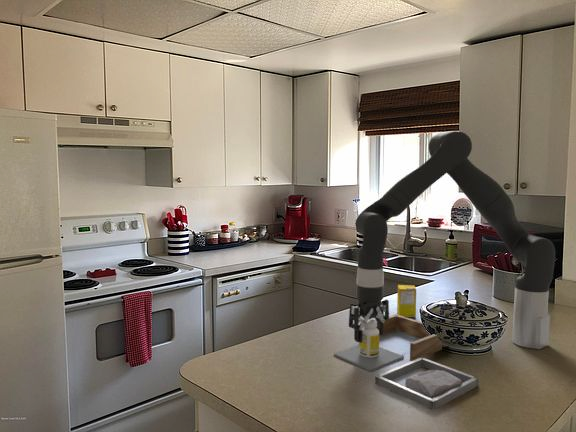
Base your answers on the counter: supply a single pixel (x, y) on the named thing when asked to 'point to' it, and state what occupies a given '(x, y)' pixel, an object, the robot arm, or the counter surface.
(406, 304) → the supplement box
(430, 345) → the open wooden tray
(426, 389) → the stone block
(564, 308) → the counter surface
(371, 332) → the supplement bottle
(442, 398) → the metal tray
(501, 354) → the counter surface
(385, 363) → the mat
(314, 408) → the counter surface
